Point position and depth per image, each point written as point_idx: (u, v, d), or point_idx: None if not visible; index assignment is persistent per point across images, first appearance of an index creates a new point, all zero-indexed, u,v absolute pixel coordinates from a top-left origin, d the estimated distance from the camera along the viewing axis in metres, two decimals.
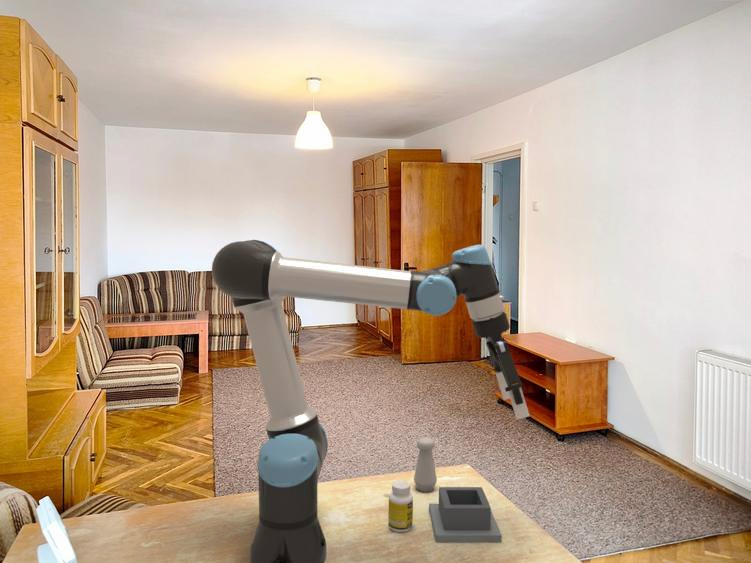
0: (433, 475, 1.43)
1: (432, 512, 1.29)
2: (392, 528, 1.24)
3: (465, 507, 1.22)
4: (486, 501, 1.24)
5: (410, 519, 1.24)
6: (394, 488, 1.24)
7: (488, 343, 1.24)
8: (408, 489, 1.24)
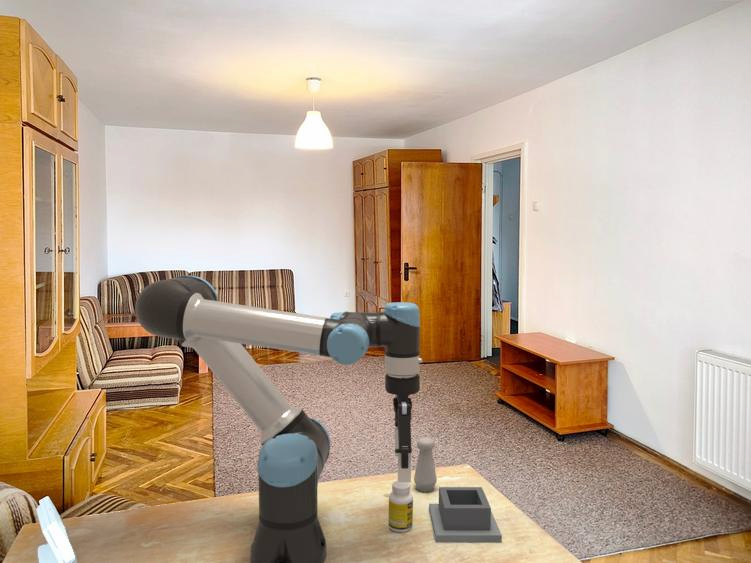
0: (433, 475, 1.43)
1: (432, 512, 1.29)
2: (392, 528, 1.24)
3: (465, 507, 1.22)
4: (486, 501, 1.24)
5: (410, 519, 1.24)
6: (394, 488, 1.24)
7: (395, 399, 1.24)
8: (408, 489, 1.24)
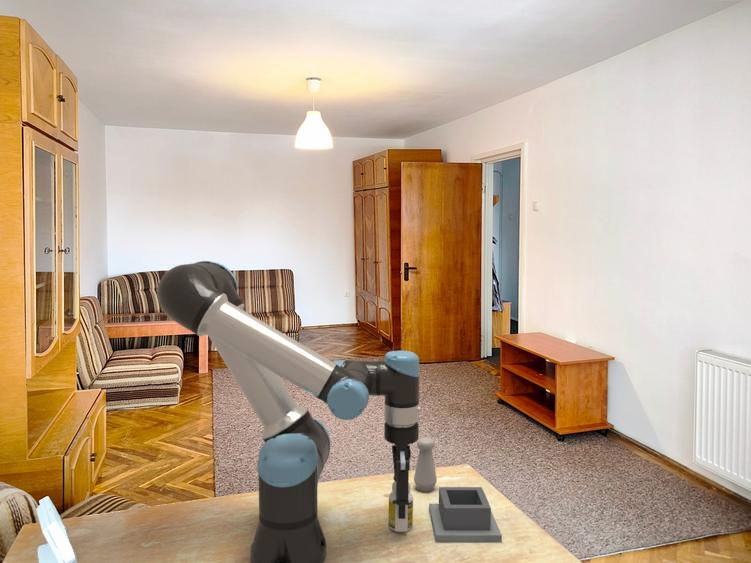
0: (433, 475, 1.43)
1: (432, 512, 1.29)
2: (392, 528, 1.24)
3: (465, 507, 1.22)
4: (486, 501, 1.24)
5: (410, 519, 1.24)
6: (394, 488, 1.24)
7: (393, 446, 1.25)
8: (408, 489, 1.24)
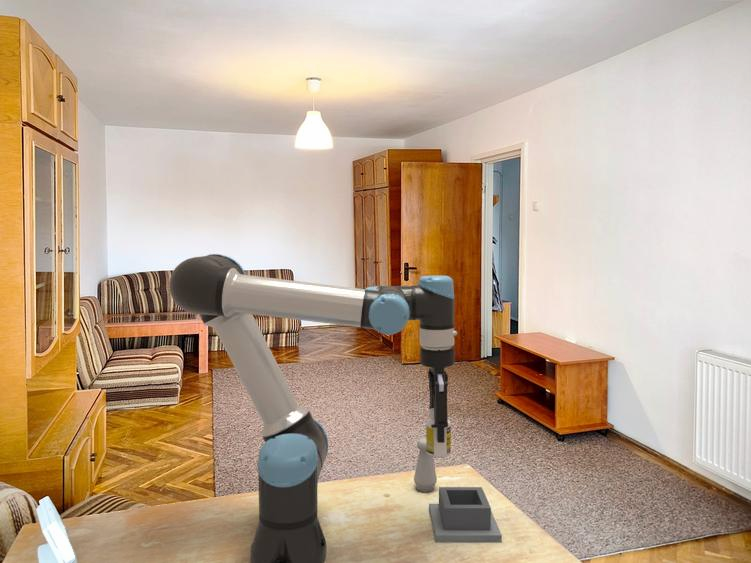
0: (433, 475, 1.43)
1: (432, 512, 1.29)
2: (430, 454, 1.23)
3: (465, 507, 1.22)
4: (486, 501, 1.24)
5: (449, 444, 1.23)
6: (432, 413, 1.23)
7: (429, 372, 1.24)
8: None
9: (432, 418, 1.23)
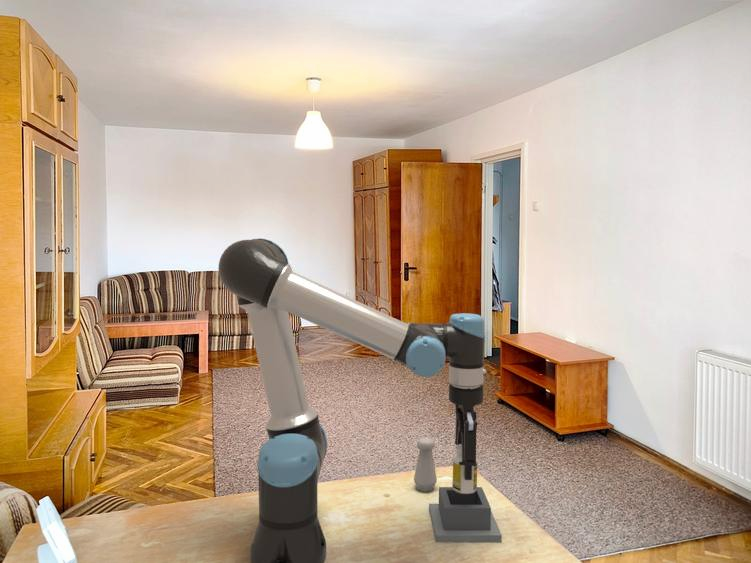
0: (433, 475, 1.43)
1: (432, 512, 1.29)
2: (457, 490, 1.24)
3: (465, 507, 1.22)
4: (486, 501, 1.24)
5: (475, 481, 1.24)
6: (459, 450, 1.24)
7: (457, 409, 1.26)
8: None
9: (459, 455, 1.24)
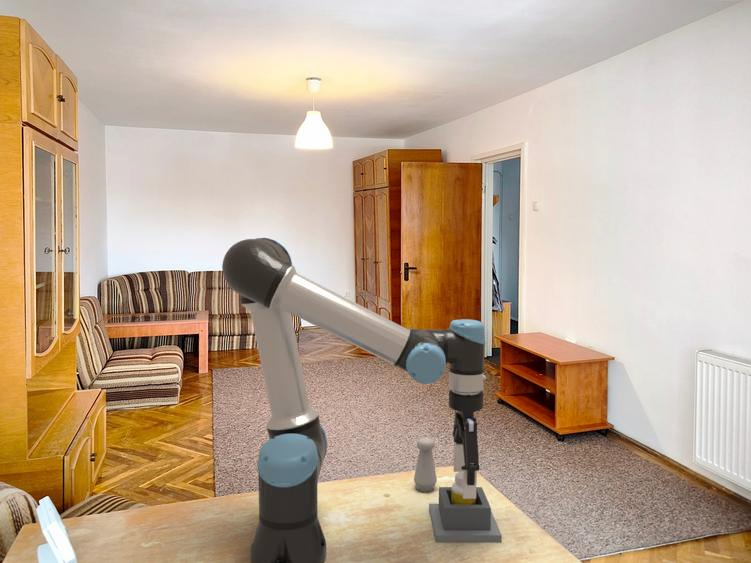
0: (433, 475, 1.43)
1: (432, 512, 1.29)
2: None
3: (465, 507, 1.22)
4: (486, 501, 1.24)
5: None
6: (458, 479, 1.25)
7: (457, 415, 1.26)
8: None
9: (458, 483, 1.25)
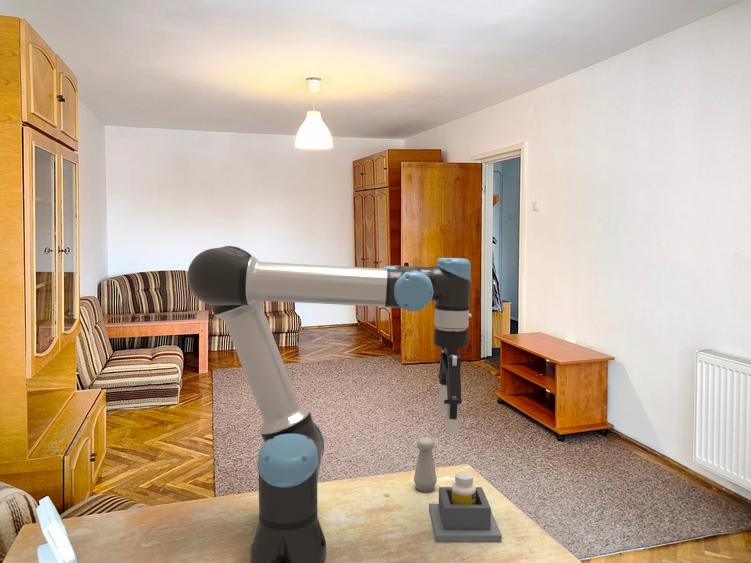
0: (433, 475, 1.43)
1: (432, 512, 1.29)
2: None
3: (465, 507, 1.22)
4: (486, 501, 1.24)
5: None
6: (458, 479, 1.25)
7: (442, 354, 1.26)
8: (471, 480, 1.25)
9: (458, 483, 1.25)
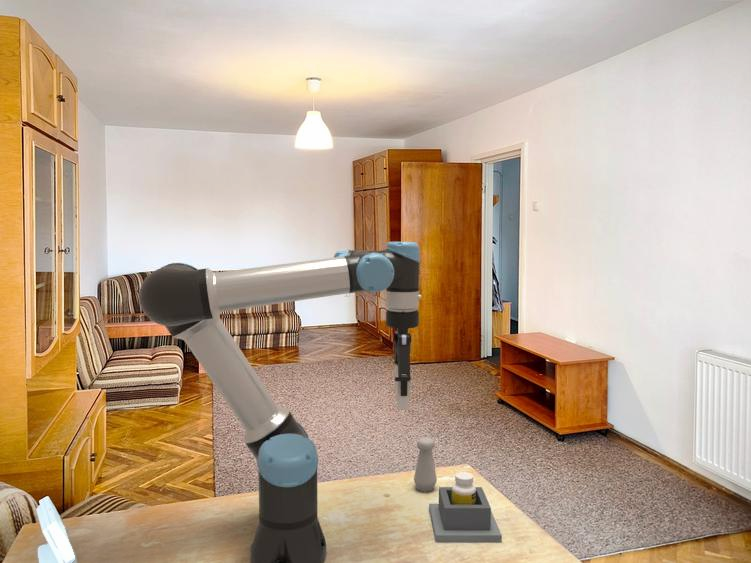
0: (433, 475, 1.43)
1: (432, 512, 1.29)
2: None
3: (465, 507, 1.22)
4: (486, 501, 1.24)
5: None
6: (458, 479, 1.25)
7: (395, 334, 1.30)
8: (472, 480, 1.25)
9: (458, 483, 1.25)
